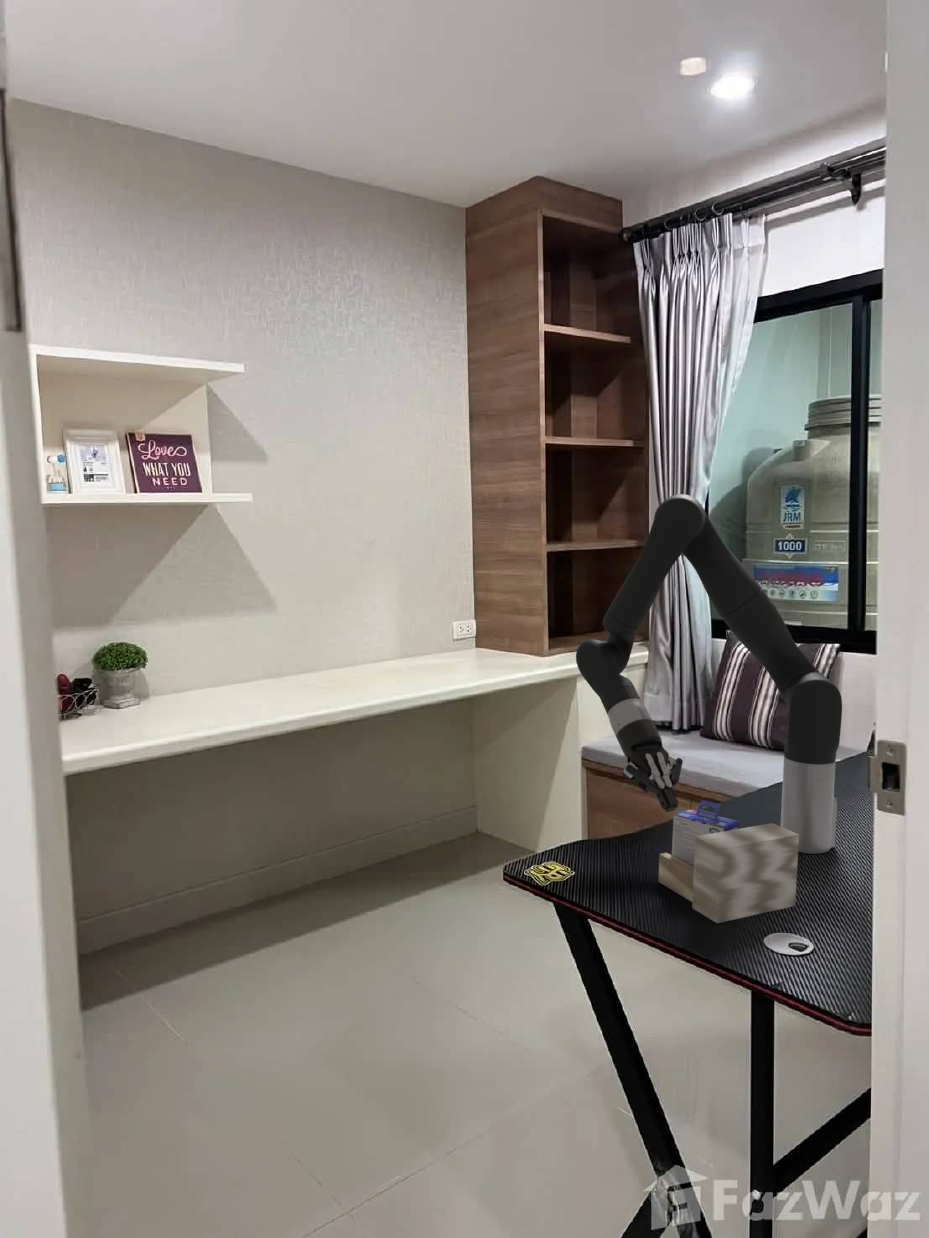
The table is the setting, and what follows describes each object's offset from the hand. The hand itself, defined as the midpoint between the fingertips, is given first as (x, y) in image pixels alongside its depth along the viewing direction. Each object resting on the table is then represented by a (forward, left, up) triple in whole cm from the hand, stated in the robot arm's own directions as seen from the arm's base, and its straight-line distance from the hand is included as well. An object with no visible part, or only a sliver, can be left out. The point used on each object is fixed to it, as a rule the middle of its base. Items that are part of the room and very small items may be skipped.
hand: (672, 809), depth 166 cm
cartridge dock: (0, +14, -10) cm, 17 cm away
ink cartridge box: (+1, +10, -11) cm, 15 cm away
